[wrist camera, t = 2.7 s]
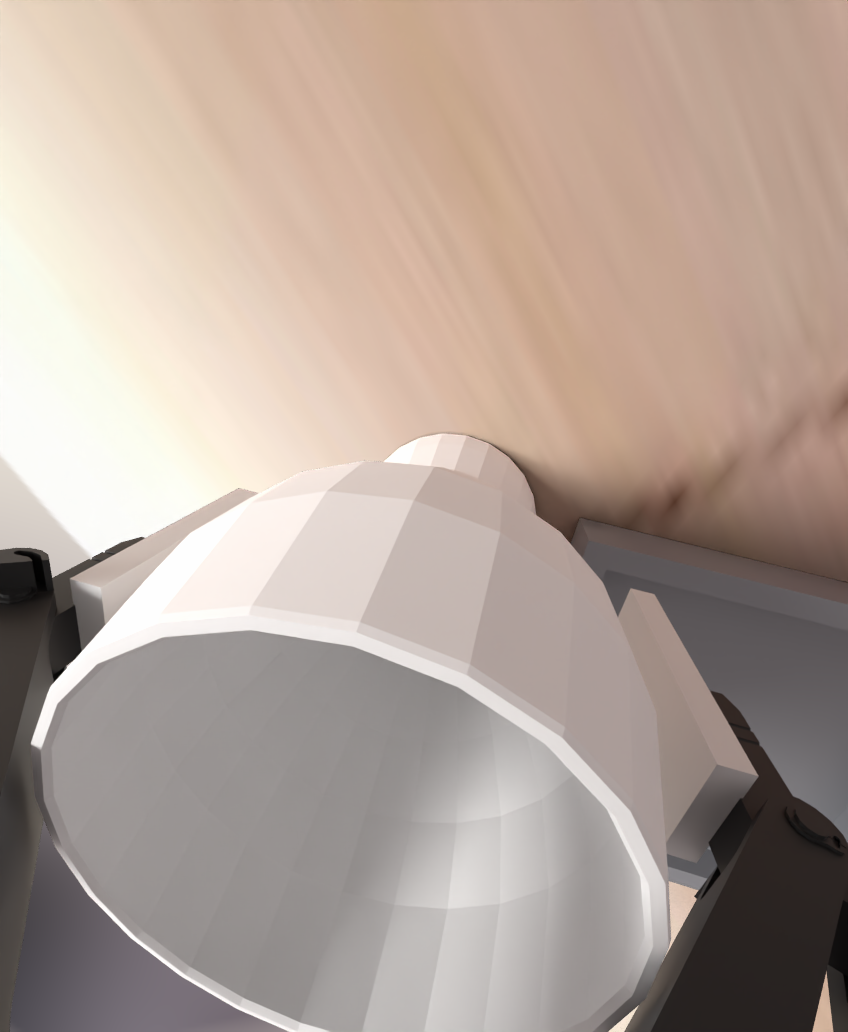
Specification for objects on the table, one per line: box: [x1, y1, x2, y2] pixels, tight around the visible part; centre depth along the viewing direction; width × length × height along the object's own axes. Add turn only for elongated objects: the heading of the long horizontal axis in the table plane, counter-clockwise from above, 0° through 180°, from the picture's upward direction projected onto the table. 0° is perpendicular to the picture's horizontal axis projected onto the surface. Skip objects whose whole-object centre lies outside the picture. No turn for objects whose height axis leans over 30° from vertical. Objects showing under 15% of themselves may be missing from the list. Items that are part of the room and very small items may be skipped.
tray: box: [571, 518, 848, 890], centre depth 21 cm, size 17×17×2 cm
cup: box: [31, 434, 671, 1032], centre depth 13 cm, size 11×11×15 cm
